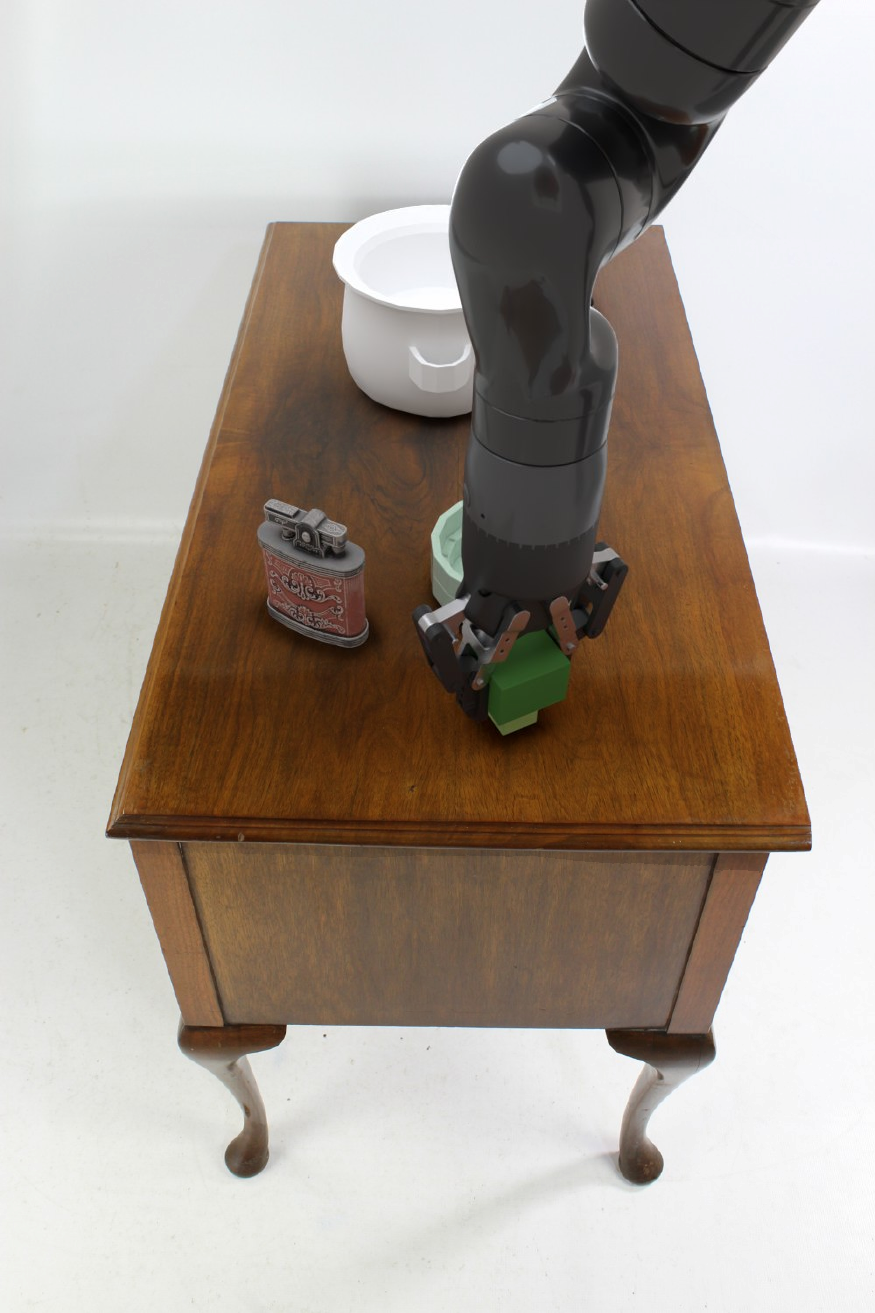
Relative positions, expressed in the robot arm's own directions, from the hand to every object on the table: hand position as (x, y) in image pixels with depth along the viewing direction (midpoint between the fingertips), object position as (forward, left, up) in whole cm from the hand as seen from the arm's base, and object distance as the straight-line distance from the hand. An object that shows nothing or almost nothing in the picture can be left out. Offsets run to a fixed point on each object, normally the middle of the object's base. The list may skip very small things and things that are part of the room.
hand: (512, 696), depth 70 cm
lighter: (+8, -14, -2) cm, 16 cm away
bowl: (-6, -11, -2) cm, 13 cm away
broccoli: (0, 0, -2) cm, 2 cm away
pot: (-14, -38, -2) cm, 41 cm away
